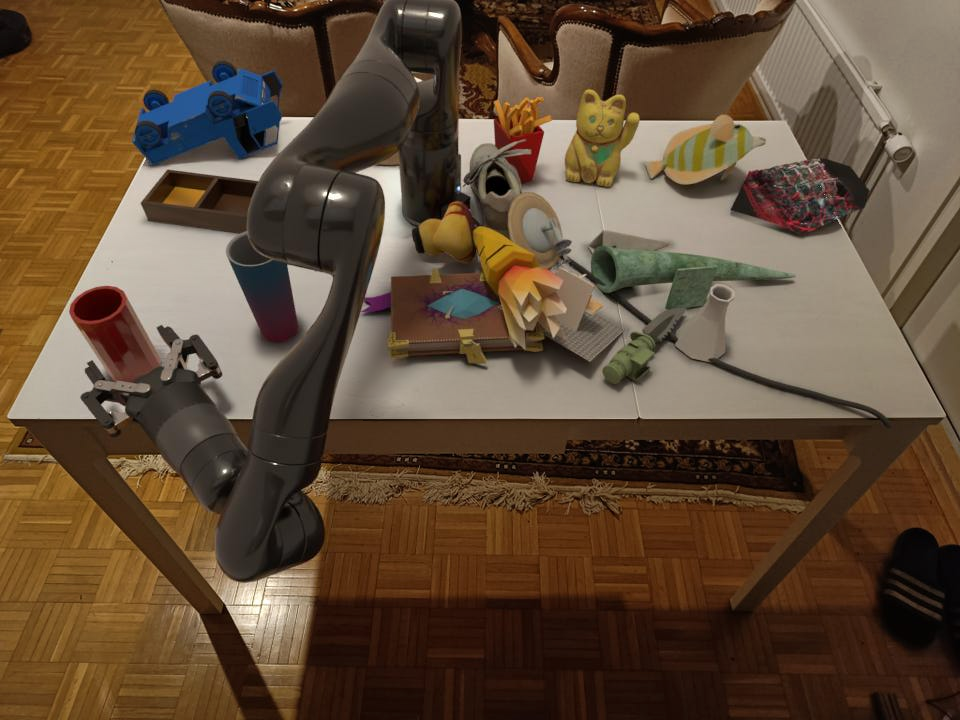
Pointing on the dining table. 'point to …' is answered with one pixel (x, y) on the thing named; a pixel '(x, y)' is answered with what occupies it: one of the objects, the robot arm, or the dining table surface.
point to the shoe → (495, 183)
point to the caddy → (200, 201)
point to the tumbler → (114, 333)
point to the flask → (706, 327)
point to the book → (447, 317)
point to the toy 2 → (537, 229)
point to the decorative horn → (671, 273)
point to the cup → (264, 289)
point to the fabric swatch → (801, 194)
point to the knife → (641, 348)
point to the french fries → (520, 134)
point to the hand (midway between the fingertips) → (127, 347)
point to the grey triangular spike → (625, 242)
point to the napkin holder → (581, 318)
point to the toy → (448, 234)
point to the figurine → (599, 139)
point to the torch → (519, 285)
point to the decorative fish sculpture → (705, 151)
